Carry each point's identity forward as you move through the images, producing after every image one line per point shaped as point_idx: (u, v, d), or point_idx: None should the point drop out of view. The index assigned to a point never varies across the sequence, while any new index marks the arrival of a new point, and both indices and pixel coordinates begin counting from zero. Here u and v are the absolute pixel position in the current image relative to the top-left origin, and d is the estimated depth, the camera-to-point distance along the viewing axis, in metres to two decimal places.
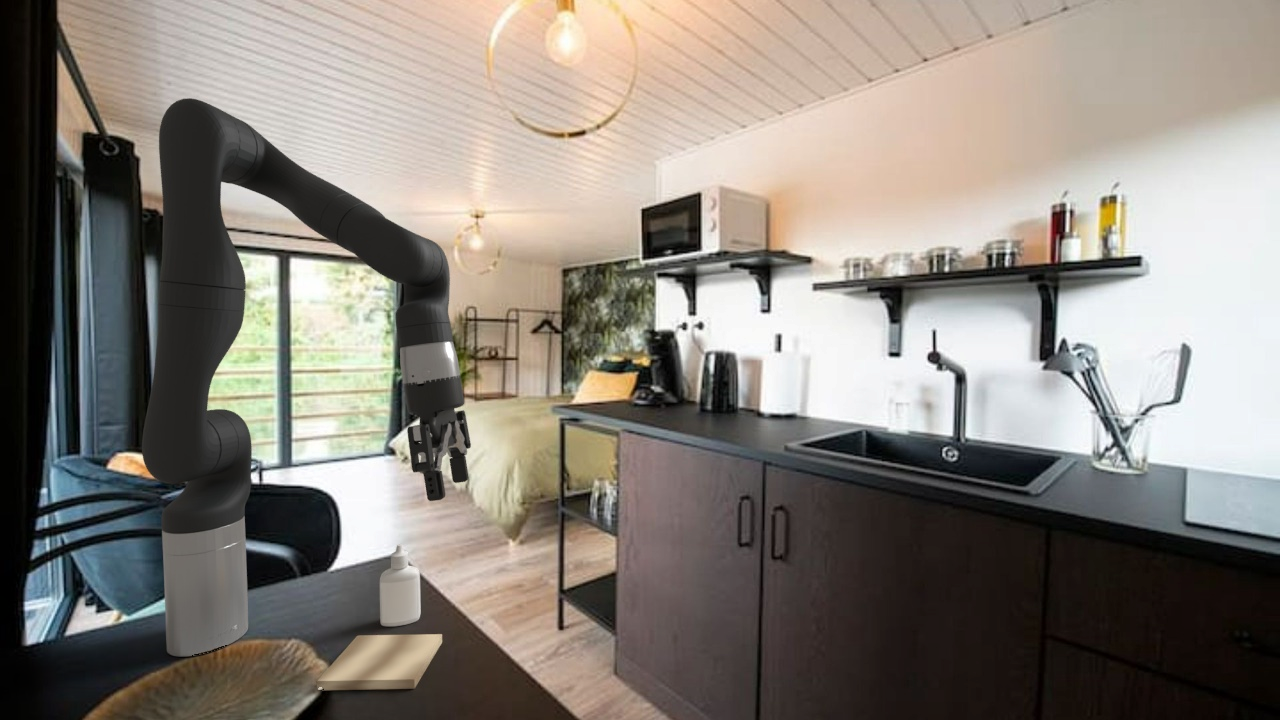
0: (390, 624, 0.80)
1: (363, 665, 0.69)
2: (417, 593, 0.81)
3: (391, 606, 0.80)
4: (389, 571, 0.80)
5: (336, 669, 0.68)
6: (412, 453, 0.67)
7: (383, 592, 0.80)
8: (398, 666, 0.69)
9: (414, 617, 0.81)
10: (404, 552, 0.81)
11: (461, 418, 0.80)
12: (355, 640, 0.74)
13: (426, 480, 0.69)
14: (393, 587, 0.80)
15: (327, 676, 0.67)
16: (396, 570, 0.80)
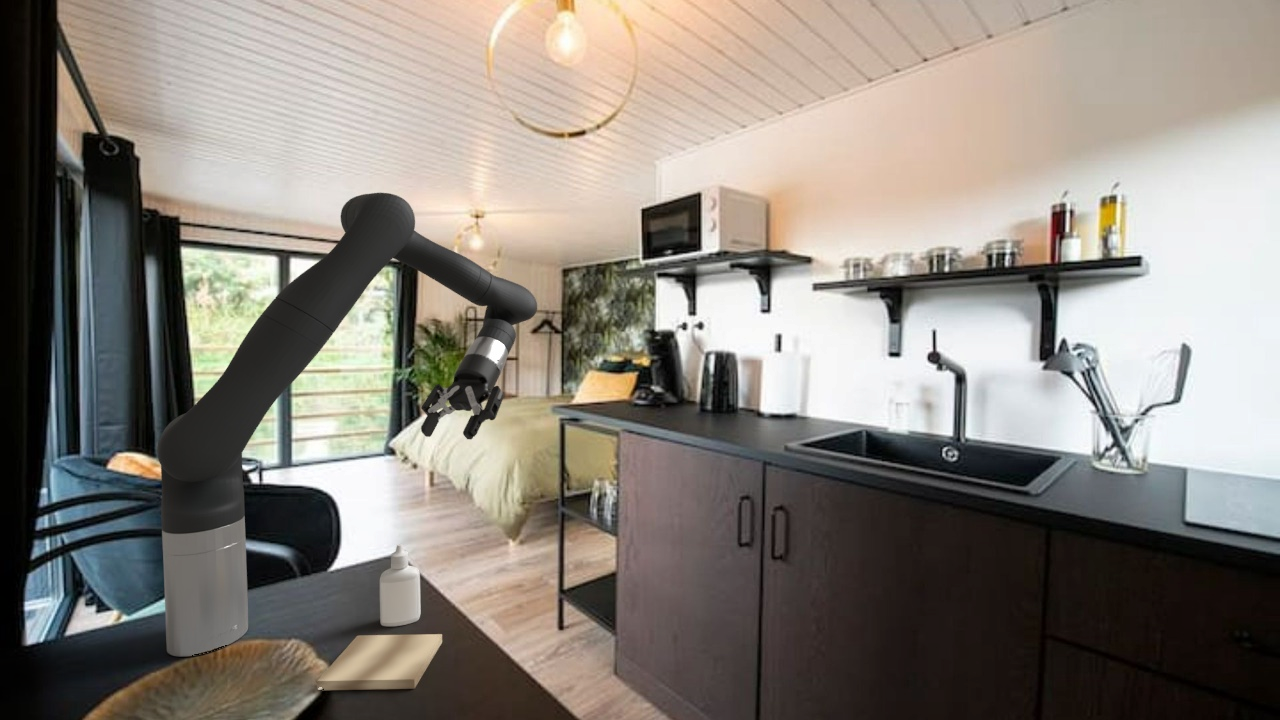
0: (390, 624, 0.80)
1: (363, 665, 0.69)
2: (417, 593, 0.81)
3: (391, 606, 0.80)
4: (389, 571, 0.80)
5: (336, 669, 0.68)
6: (494, 401, 0.93)
7: (383, 592, 0.80)
8: (398, 666, 0.69)
9: (414, 617, 0.81)
10: (404, 552, 0.81)
11: None
12: (355, 640, 0.74)
13: (478, 421, 0.91)
14: (393, 587, 0.80)
15: (327, 676, 0.67)
16: (396, 570, 0.80)
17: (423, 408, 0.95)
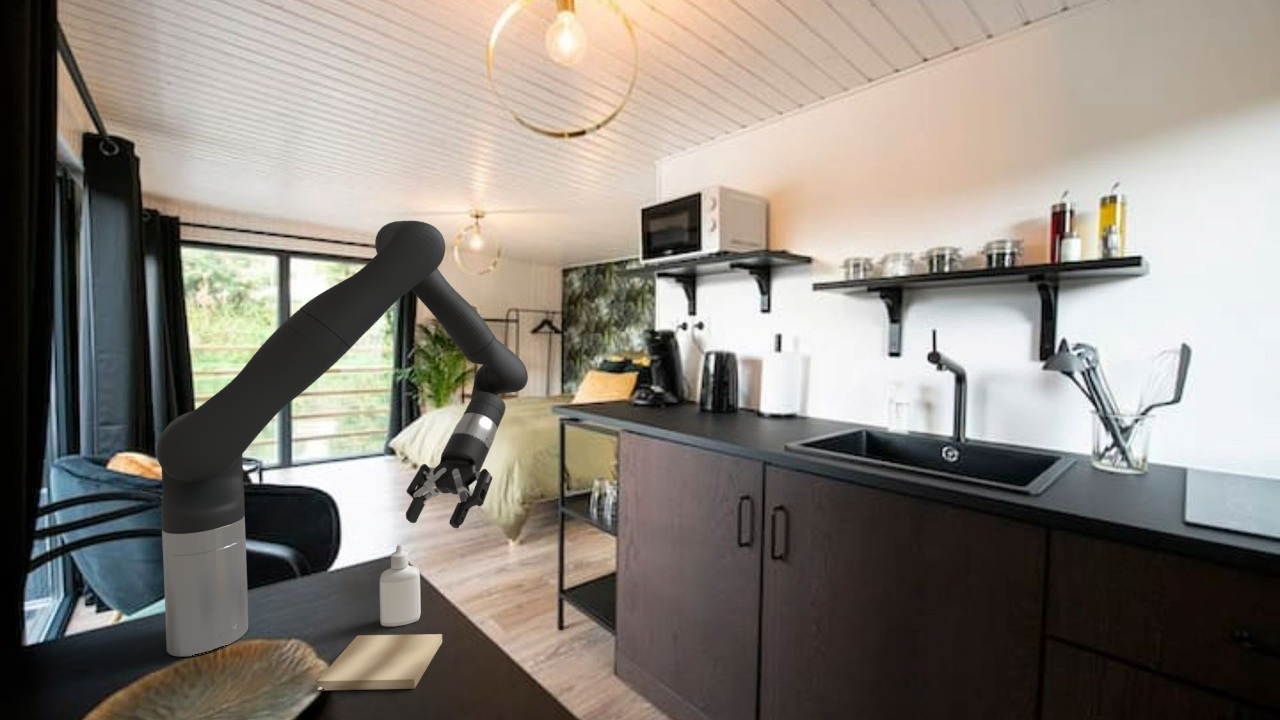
0: (390, 624, 0.80)
1: (363, 665, 0.69)
2: (417, 593, 0.81)
3: (391, 606, 0.80)
4: (389, 571, 0.80)
5: (336, 669, 0.68)
6: (481, 487, 0.91)
7: (383, 592, 0.80)
8: (398, 666, 0.69)
9: (414, 617, 0.81)
10: (404, 552, 0.81)
11: None
12: (355, 640, 0.74)
13: (465, 509, 0.89)
14: (393, 587, 0.80)
15: (327, 676, 0.67)
16: (396, 570, 0.80)
17: (408, 491, 0.93)
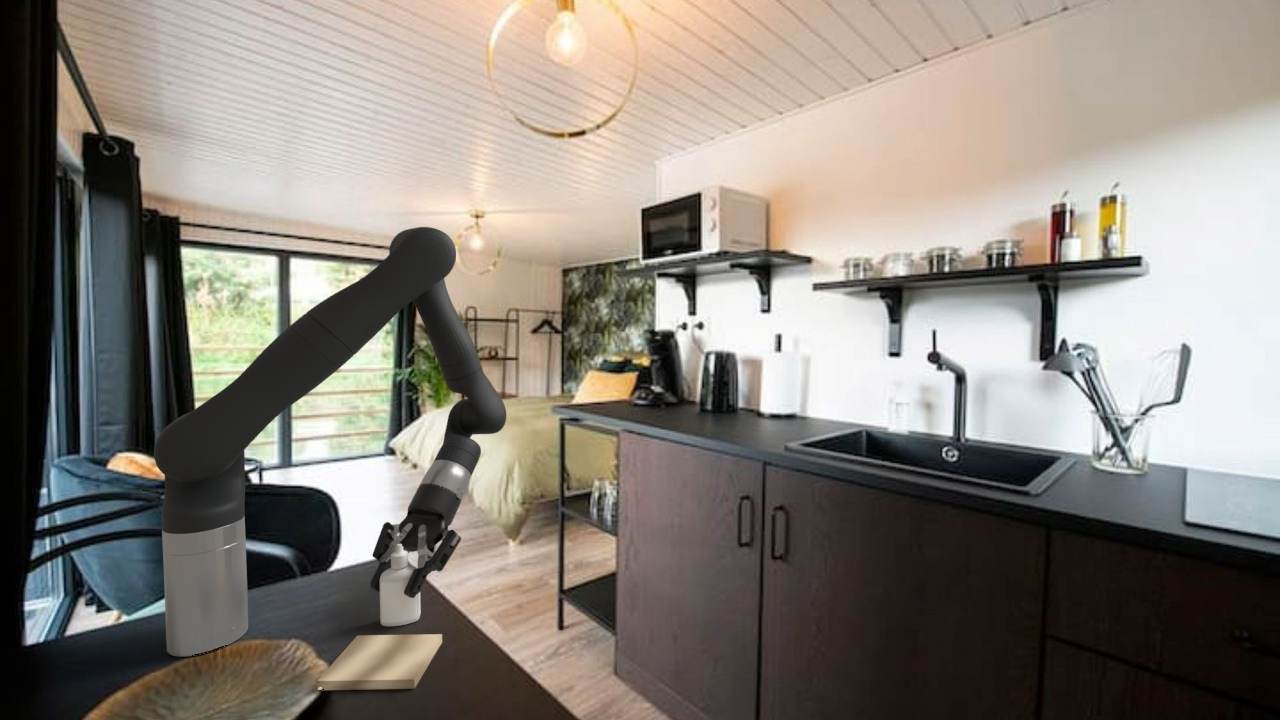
0: (390, 624, 0.80)
1: (363, 665, 0.69)
2: None
3: (391, 606, 0.80)
4: (389, 571, 0.80)
5: (336, 669, 0.68)
6: (443, 551, 0.82)
7: (383, 592, 0.80)
8: (398, 666, 0.69)
9: (414, 616, 0.81)
10: (404, 552, 0.81)
11: None
12: (355, 640, 0.74)
13: (422, 575, 0.80)
14: (393, 587, 0.80)
15: (327, 676, 0.67)
16: (396, 570, 0.80)
17: (375, 556, 0.83)
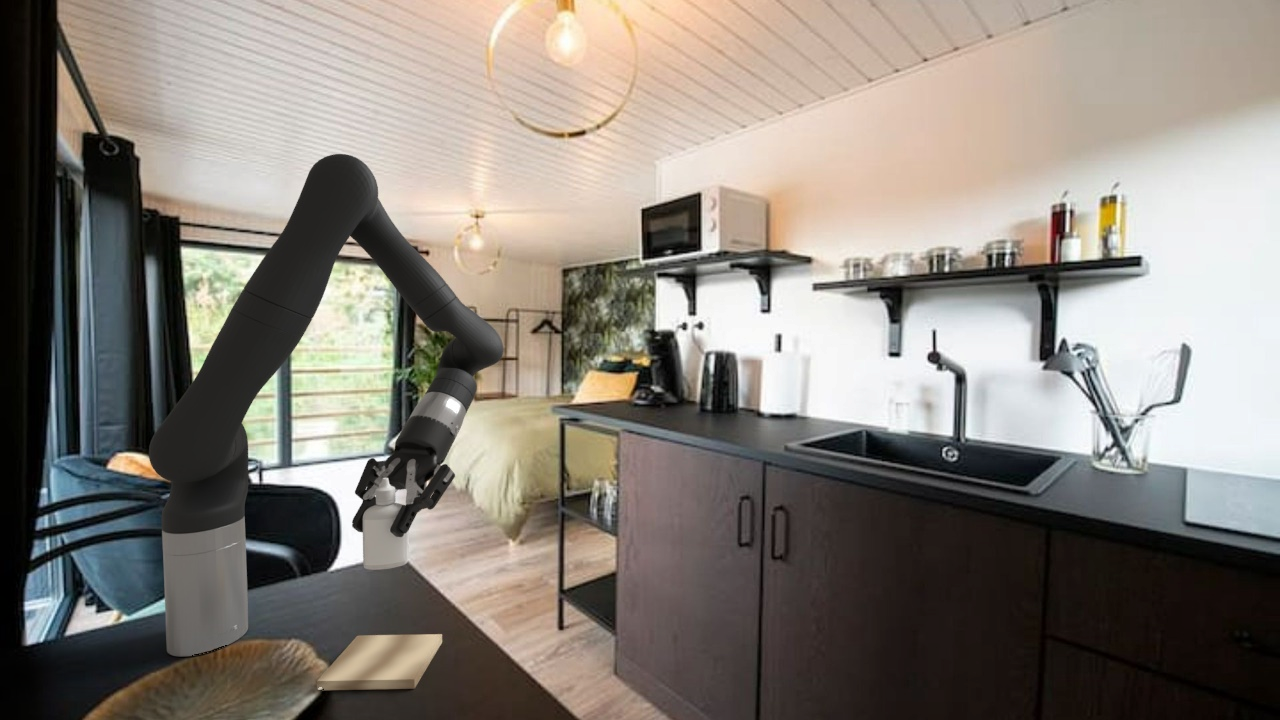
0: (374, 567, 0.71)
1: (363, 665, 0.69)
2: (405, 533, 0.72)
3: (376, 547, 0.71)
4: (373, 507, 0.71)
5: (336, 669, 0.68)
6: (435, 487, 0.73)
7: (366, 530, 0.70)
8: (398, 666, 0.69)
9: (402, 559, 0.72)
10: (391, 487, 0.72)
11: None
12: (355, 640, 0.74)
13: (411, 513, 0.71)
14: (377, 525, 0.70)
15: (327, 676, 0.67)
16: (381, 506, 0.71)
17: (358, 493, 0.74)
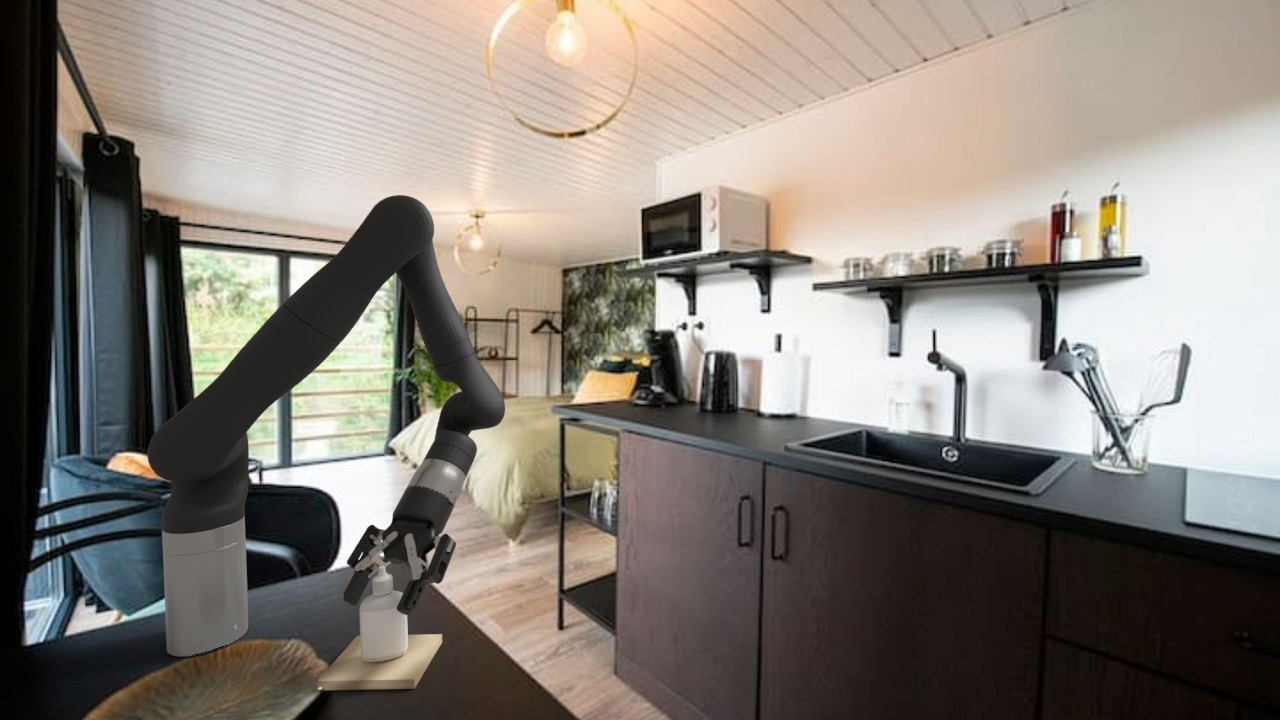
0: (372, 660, 0.69)
1: (363, 665, 0.69)
2: (403, 623, 0.71)
3: (373, 639, 0.69)
4: (370, 598, 0.70)
5: (336, 669, 0.68)
6: (440, 559, 0.71)
7: (363, 622, 0.69)
8: (398, 666, 0.69)
9: (400, 650, 0.70)
10: (388, 576, 0.70)
11: None
12: (355, 640, 0.74)
13: (418, 589, 0.69)
14: (375, 617, 0.69)
15: (327, 676, 0.67)
16: (378, 597, 0.70)
17: (349, 563, 0.73)
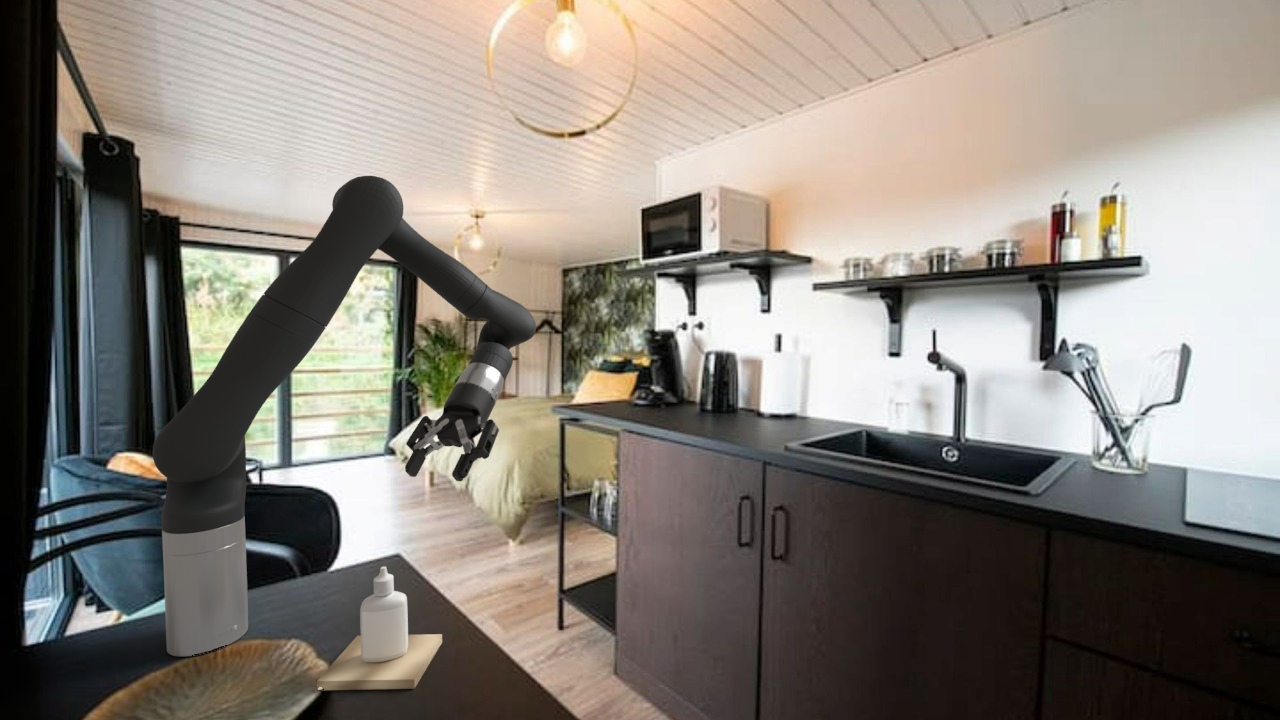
0: (372, 660, 0.69)
1: (363, 665, 0.69)
2: (404, 623, 0.71)
3: (374, 639, 0.69)
4: (371, 598, 0.70)
5: (336, 669, 0.68)
6: (487, 438, 0.83)
7: (364, 623, 0.69)
8: (398, 666, 0.69)
9: (400, 651, 0.70)
10: (389, 576, 0.70)
11: None
12: (355, 640, 0.74)
13: (469, 460, 0.81)
14: (375, 617, 0.69)
15: (327, 676, 0.67)
16: (379, 597, 0.70)
17: (408, 444, 0.85)
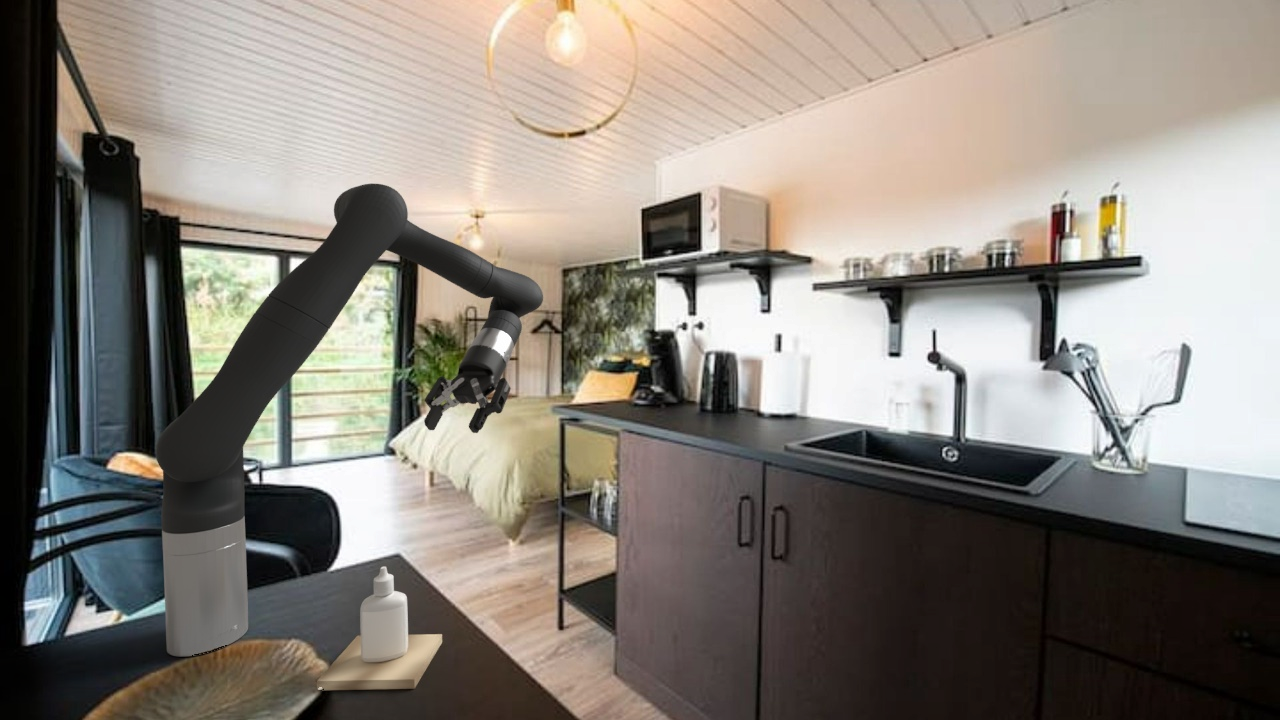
0: (372, 660, 0.69)
1: (363, 665, 0.69)
2: (404, 623, 0.71)
3: (374, 639, 0.69)
4: (371, 598, 0.70)
5: (336, 669, 0.68)
6: (500, 394, 0.90)
7: (364, 623, 0.69)
8: (398, 666, 0.69)
9: (400, 651, 0.70)
10: (389, 576, 0.70)
11: None
12: (355, 640, 0.74)
13: (484, 414, 0.88)
14: (375, 617, 0.69)
15: (327, 676, 0.67)
16: (379, 597, 0.70)
17: (426, 401, 0.92)
